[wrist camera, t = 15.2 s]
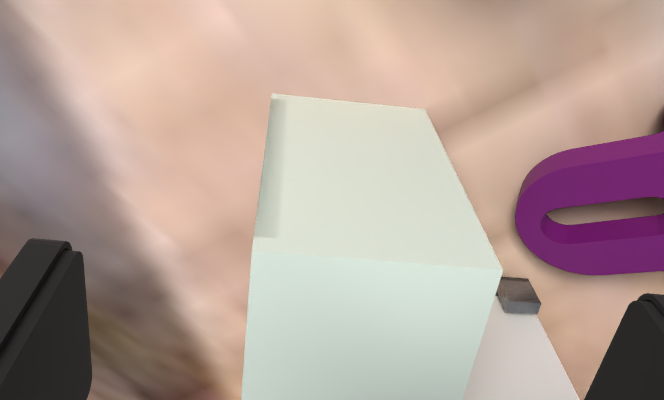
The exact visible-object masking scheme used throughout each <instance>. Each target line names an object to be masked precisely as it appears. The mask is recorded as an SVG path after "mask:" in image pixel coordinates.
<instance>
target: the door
mask: <svg viewBox="0 0 664 400" xmlns="http://www.w3.org/2000/svg"><path fill="white" fill-rule="evenodd" d="M463 400H580V399H579V397H578V395H577V393H576V391H575V389H574V387H573V386H572V384H571V382H570V380H569V378H568V376H567V374H566V372H565V370H564V368H563V366H562V364H561V362H560V360H559V358H558V356H557V354H556V352H555V350H554V348H553V346H552V344H551V342H550V340H549V339H548V337H547V335H546V333H545V331H544V329H543V327H542V325H541V323H540V321H539V319H538V317H537V315H536V314H527V313H513V312H506V311H505V309H504V307H503V304H502V302H501V300H500V298H499V296H495V298H494V301H493V304H492V307H491V311H490V314H489V317H488V320H487V323H486V326H485V330H484V333H483V336H482V339H481V342H480V346H479V349H478V352H477V355H476V358H475V361H474V365H473V368H472V371H471V374H470V377H469V381H468V384H467V387H466V390H465V393H464V396H463Z"/></svg>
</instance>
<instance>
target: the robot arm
mask: <svg viewBox="0 0 664 400" xmlns="http://www.w3.org/2000/svg"><path fill="white" fill-rule="evenodd" d="M91 381H92V365H91V352H90V339H89V326H88V314H87V301H86V288H85V275H84V263H83V255H82V253H81V252H79V251H72V247H71V245H70V243H69V242H67V241H57V240H46V239H34V238H33V239H29V240H28V241H27V243H26V244H25V245H24V247H23V248H22V249H21V251H20V252H19V254H18V255H17V256H16V258H15V259H14V260H13V262H12V263H11V265H10V266H9V267H8V269H7V270H6V272H5V273H4V274H3V276H2V277H1V279H0V400H86V399H87V397H88V394H89V391H90V387H91ZM584 400H664V295H660V294H649V293H647V294H643V295H642V296H640V297H639V298H638V300H637V301H633V302H631V303H630V304H629V306H628V308H627V310H626V312H625V314H624V316H623V318H622V320H621V322H620V325H619V327H618V329H617V331H616V333H615V335H614V337H613V339H612V342H611V344H610V346H609V348H608V350H607V352H606V354H605V357H604V359H603V361H602V363H601V365H600V367H599V369H598V371H597V374H596V376H595V378H594V380H593V382H592V384H591V386H590V388H589V391H588V393H587V395H586V397H585V399H584Z"/></svg>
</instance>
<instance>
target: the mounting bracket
mask: <svg viewBox="0 0 664 400" xmlns="http://www.w3.org/2000/svg"><path fill="white" fill-rule="evenodd" d="M643 197H659V198H663V199H664V131H663V132H661V133H658V134H654V135H649V136H643V137H637V138H632V139H626V140H620V141H615V142H609V143H603V144H598V145H592V146H586V147H581V148H575V149H570V150H566V151H562V152H559V153H557V154H554V155H552V156H550V157H548V158H546V159H544V160H543V161H542V162H540V163H539V164H537V165H536V166H535V167H534V168H533V169H532V170H531V171H530V172H529V174H528V175H527V177H526V178H525V180H524V182H523V184H522V187H521V191H520V195H519V199H518V204H517V208H516V216H515V219H516V226H517V230H518V232H519V235H520V237H521V239H522V240H523V242H524V243H525V245H526V246H527V247H528V248H529V249H530V250H531V251H532V252H533V253H534V254H535V255H536V256H538V257H539V258H540V259H542V260H543V261H545V262H547V263H549V264H550V265H552V266H555V267H557V268H559V269H562V270H565V271H569V272H573V273H578V274H585V275H612V274H626V273H640V272H655V271H664V214H661V215H656V216H647V217H638V218H629V219H620V220H611V221H603V222H594V223H585V224H576V225H564V224H559V223H557V222H555V221H553V220H551V219H550V218H549V217H548V216H547V215H546V213H547V212H549V211H551V210H553V209H557V208H565V207H573V206H580V205H588V204H596V203H604V202H611V201H619V200H627V199H635V198H643Z"/></svg>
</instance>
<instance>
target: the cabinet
mask: <svg viewBox="0 0 664 400" xmlns="http://www.w3.org/2000/svg"><path fill="white" fill-rule="evenodd" d="M502 272H503V269H502V267H501V265H500V263H499V261H498V259H497V257H496V255H495V253H494V250H493V248H492V246H491V244H490V242H489V240H488V238H487V236H486V234H485V232H484V230H483V228H482V226H481V224H480V222H479V220H478V217H477V215H476V213H475V211H474V209H473V207H472V205H471V203H470V201H469V199H468V197H467V195H466V193H465V191H464V189H463V187H462V185H461V182H460V180H459V178H458V176H457V174H456V172H455V170H454V168H453V166H452V164H451V162H450V160H449V158H448V156H447V154H446V152H445V149H444V147H443V145H442V143H441V141H440V139H439V137H438V135H437V133H436V131H435V129H434V127H433V125H432V123H431V121H430V119H429V117H428V114H427V112H426V110H425V109H420V108H411V107H401V106H391V105H381V104H372V103H362V102H352V101H343V100H333V99H323V98H314V97H304V96H294V95H285V94H275V93H272V97H271V105H270V113H269V121H268V129H267V137H266V145H265V152H264V160H263V168H262V176H261V184H260V192H259V200H258V207H257V215H256V223H255V231H254V239H253V247H252V258H251V272H250V285H249V299H248V313H247V327H246V340H245V354H244V368H243V382H242V396H241V400H463V396H464V393H465V390H466V387H467V384H468V381H469V377H470V374H471V371H472V368H473V365H474V361H475V358H476V355H477V352H478V349H479V346H480V342H481V339H482V336H483V333H484V330H485V326H486V323H487V320H488V317H489V314H490V311H491V307H492V304H493V301H494V298H495V295H496V291H497V288H498V285H499V282H500V279H501V276H502Z"/></svg>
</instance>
